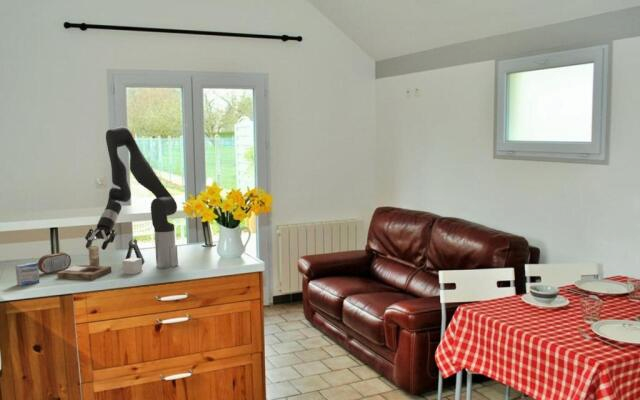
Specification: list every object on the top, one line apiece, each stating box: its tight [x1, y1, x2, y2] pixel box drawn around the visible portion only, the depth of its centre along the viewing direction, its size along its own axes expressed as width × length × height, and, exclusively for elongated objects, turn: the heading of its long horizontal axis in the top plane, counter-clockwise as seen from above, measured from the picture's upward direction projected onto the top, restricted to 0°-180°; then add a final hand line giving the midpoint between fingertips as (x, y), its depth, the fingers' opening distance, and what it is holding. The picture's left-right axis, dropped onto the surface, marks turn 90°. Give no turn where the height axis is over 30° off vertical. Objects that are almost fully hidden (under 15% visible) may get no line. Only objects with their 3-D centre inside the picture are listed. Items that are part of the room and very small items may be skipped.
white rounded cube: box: [122, 257, 143, 275], centre depth 274 cm, size 6×6×6 cm
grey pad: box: [64, 265, 87, 271], centre depth 271 cm, size 7×7×1 cm
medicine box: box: [15, 261, 40, 287], centre depth 258 cm, size 8×4×9 cm, turn 138°
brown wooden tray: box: [56, 264, 112, 281], centre depth 270 cm, size 18×14×2 cm
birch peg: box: [88, 245, 101, 266], centre depth 283 cm, size 4×4×10 cm
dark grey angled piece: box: [124, 238, 145, 266], centre depth 289 cm, size 9×6×12 cm, turn 98°
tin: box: [37, 252, 72, 274], centre depth 277 cm, size 15×3×8 cm, turn 141°
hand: (95, 248), depth 284 cm, fingers open, 8 cm apart
